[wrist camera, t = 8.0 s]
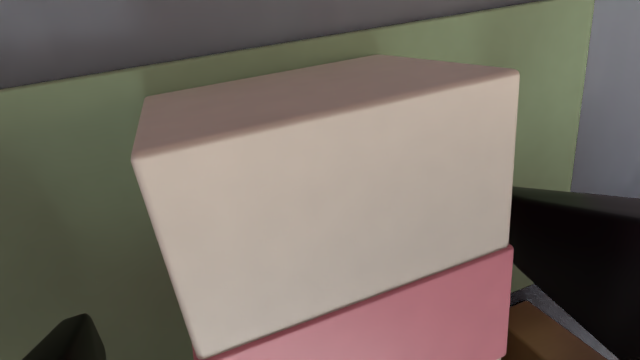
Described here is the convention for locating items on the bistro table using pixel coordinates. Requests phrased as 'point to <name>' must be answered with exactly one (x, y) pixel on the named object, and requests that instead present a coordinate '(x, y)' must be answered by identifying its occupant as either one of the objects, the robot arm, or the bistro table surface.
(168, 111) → the block
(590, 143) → the bistro table surface
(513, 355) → the shelf
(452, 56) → the mat
